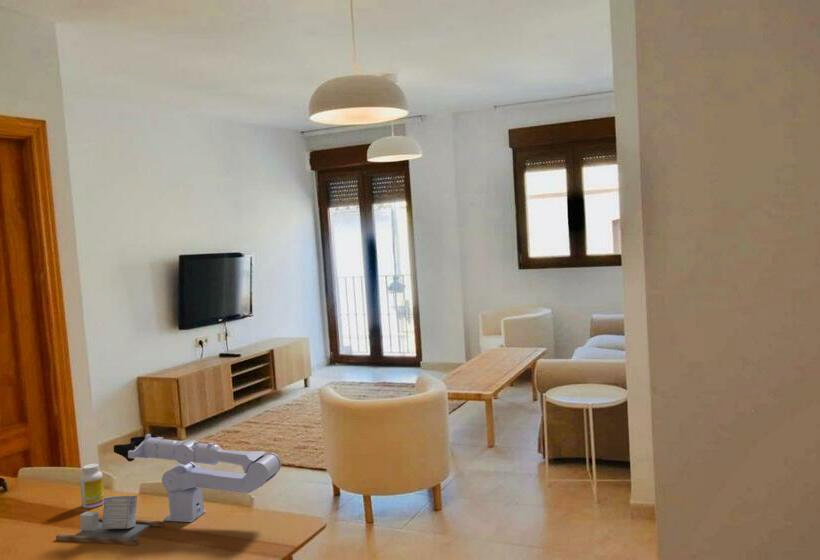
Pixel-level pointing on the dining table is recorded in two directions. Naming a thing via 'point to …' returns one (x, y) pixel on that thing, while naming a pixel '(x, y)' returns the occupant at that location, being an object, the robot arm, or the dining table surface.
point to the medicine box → (119, 512)
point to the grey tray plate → (94, 529)
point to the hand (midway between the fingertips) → (123, 444)
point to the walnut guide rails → (105, 539)
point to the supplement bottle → (92, 486)
